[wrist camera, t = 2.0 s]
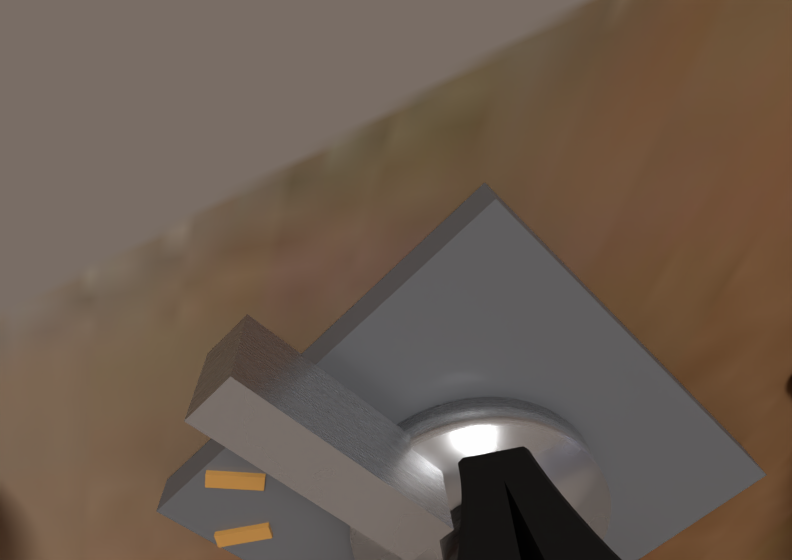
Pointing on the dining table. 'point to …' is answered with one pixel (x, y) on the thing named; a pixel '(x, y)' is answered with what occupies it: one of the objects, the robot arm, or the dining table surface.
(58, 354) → the dining table surface
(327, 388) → the dial
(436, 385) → the dial plate
